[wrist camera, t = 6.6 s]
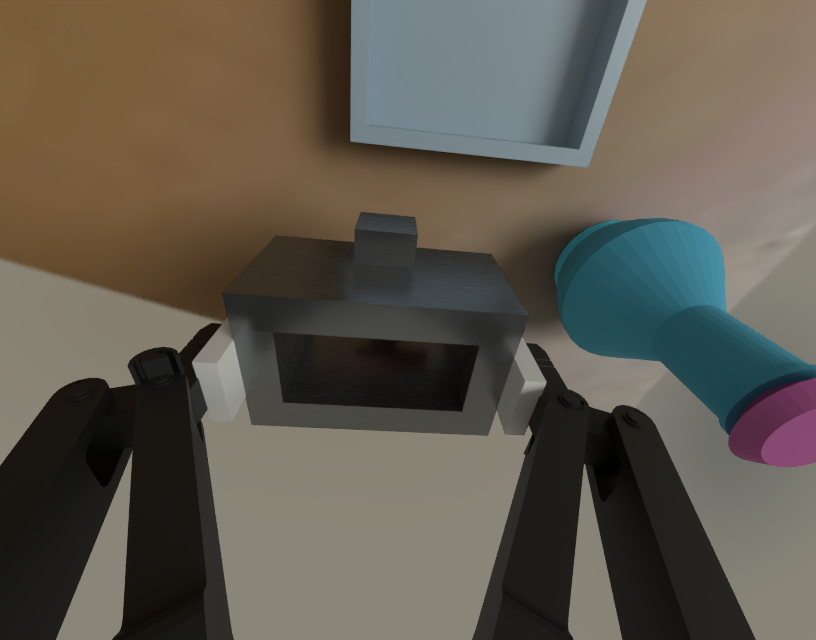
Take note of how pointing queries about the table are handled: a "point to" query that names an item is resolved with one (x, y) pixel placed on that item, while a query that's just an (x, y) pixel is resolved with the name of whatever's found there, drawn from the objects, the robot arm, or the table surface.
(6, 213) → the table surface
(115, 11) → the table surface
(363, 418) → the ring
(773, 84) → the table surface
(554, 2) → the tray
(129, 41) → the table surface
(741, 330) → the perfume bottle
